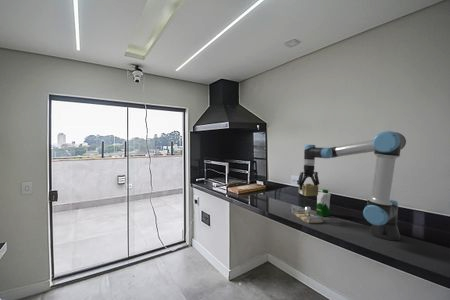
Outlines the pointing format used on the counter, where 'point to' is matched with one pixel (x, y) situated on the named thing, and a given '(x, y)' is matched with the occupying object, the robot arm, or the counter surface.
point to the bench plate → (302, 216)
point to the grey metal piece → (308, 214)
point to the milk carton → (323, 203)
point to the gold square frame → (309, 190)
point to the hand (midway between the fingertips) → (308, 193)
